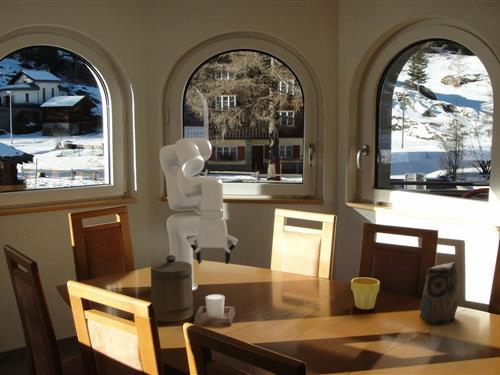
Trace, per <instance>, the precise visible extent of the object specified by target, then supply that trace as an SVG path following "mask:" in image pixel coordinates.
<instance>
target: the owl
mask: <svg viewBox="0 0 500 375" xmlns="http://www.w3.org/2000/svg"><path fill="white" fill-rule="evenodd" d="M457 286H458V272H457V269H456V262H455V261H453V262H449V263H443V264H438V265H435V266H432V267H429V268H428V269H427V271H426V276H425V285H424V288H423V290H422V291H423V292H422V298H421V303H420V307H419V311H420V313H419V314H420V315H421V317H422V318H423V320H424V321H425V322H426V324H427V325H429V326H438V327H442V326H445V325H449V324H450V323H454V322H455V317H456V312H457V311H458V310H457V309H458V308H459V306H458V304H459V299H458V296H459V295H458V293H457Z"/></svg>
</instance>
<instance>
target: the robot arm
mask: <svg viewBox="0 0 500 375" xmlns="http://www.w3.org/2000/svg"><path fill="white" fill-rule="evenodd" d="M212 149H213V148H212V145H211V143H210V141H209V140H208V139H207V138H205V137H189V138H188V137H187V138H184V137H183V138H180V139H178V140H177V141H176V142H175V143H174V144H167V145H165V146H163V147H161V149H160V151H159V162H160V166H161V168H162V171H163V174H164V178H165V181H166V184H165V185H166V195H167V202H168V207H169V209H171V210H172V211H188V210H189V211H191V210H193V211H194V212H184V213H183V212H182V213H175V214H172V215H170V216H168V218H167V219H166V231H167V236H168V244H169V255H174V256H175V257H176V260H175V261H181V262H187V263H190V264H191V265H192V292H193V291H196V290H197V289H198V288H199V286H198V284H197V283H196V282H195V277H194V275H195V274H194V252H195V257H196V259H195V260H196V262H197V264H199V265H200V264H202V261H203V259H202V258H203V257H202V248H203V249H224V250H225V264H226V265H228V264H229V263H230V261H231V252H232V251H233V250H234V249H235V247H236V245H237V243H238V242H239V240H238V238H237V237H235V236H232V235H230V234H228V227H227V221H226V218H225V217H224V192H223V191H224V188H223V187H224V186H223V185H224V184H223V181H222V179H221V178H217V177H216V176H213V175H205V176H196V175H198V174H200V173H201V172H202V171H203V169H204V168H205V162H206V161H208V160H209V159H210V158H211V155H212V153H213V152H212V151H213V150H212ZM187 237H190V238H188V239H187ZM194 241H197V245H196V244H195V242H194ZM228 241H231V242H232V244H231V245H229V244H228V243H229V242H228Z"/></svg>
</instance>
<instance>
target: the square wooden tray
mask: <svg viewBox="0 0 500 375" xmlns="http://www.w3.org/2000/svg"><path fill="white" fill-rule="evenodd" d="M235 315H236V310H235V306H226V305H224V314H223V317H207V309H206V305H200V306H199V308H198V310H197V312H196V314H195V316H194V318H193V322H192V325H193V324H197V325H196V326H202V325H205V326H207V327H208V326H209V327H210V326H211V327H212V326H215V327H223V326H224V327H232V324H233V320H234V318H235ZM205 326H204V327H205Z"/></svg>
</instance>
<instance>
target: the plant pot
mask: <svg viewBox="0 0 500 375" xmlns="http://www.w3.org/2000/svg"><path fill="white" fill-rule="evenodd" d="M380 284H381V282H380V280H378V279H376V278H372V277H355V278H352V279H351V280H350V290H351V291H352V293H353V298H354V303H355V307H356V308H358V309H360V310H371V309H374V307H375V304H376V300H377V295H378V293H379V292H380V286H381V285H380Z"/></svg>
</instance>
